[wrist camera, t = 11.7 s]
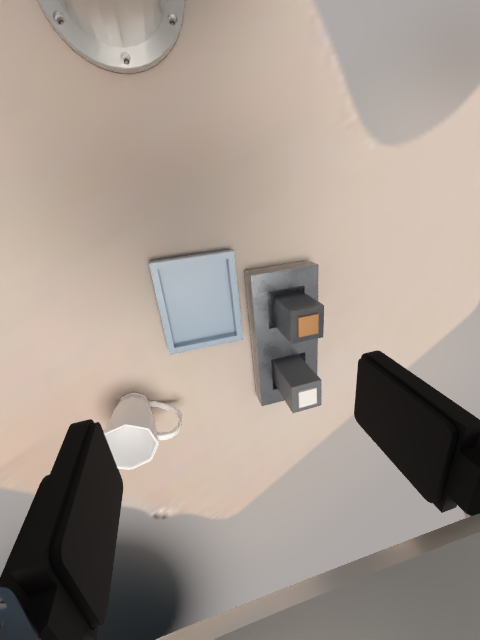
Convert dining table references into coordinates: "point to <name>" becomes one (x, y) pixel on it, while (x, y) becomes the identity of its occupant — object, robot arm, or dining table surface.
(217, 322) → the tray
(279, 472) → the dining table surface
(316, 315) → the grey socket
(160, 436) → the cup
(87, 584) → the robot arm
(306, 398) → the plug
